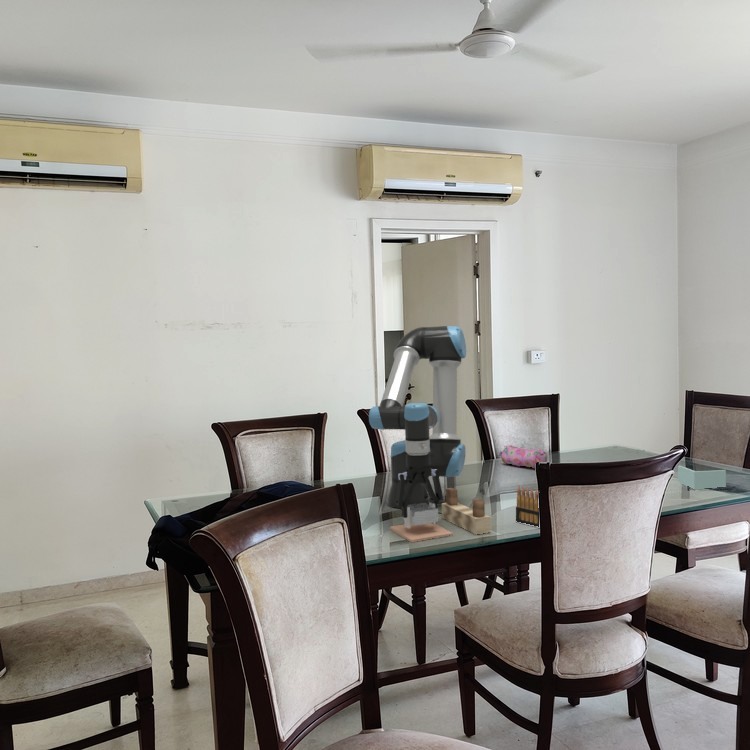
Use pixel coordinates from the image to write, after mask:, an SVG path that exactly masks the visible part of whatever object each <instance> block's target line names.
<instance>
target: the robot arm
mask: <svg viewBox="0 0 750 750" xmlns="http://www.w3.org/2000/svg"><path fill="white" fill-rule="evenodd" d="M466 343H467V342H466V339H465V334H464V331H463V330H462V328H461V327H459V326H456V325H454V326H451V325H445V326H444V325H443V326H441V325H440V326H426V327H425V326H421V327H417V328H414V329H411V330H410V331H409V332H407V333H406V334H404V336H403V337H402V338H401V339H400V340H399V341H398V343H397V345H395V348H394V352H393V355H392V356H393V359H394V361H393V364H392V366H391V371H390V373H389V376H388V380H387V382H386V385H385V389H384V392H383V395H382V397H381V401H380V403H379V405H377V406H372V407H371V408H370V410H369V412H368V422H369V425H370V427H371V428H372V429H374V430H383V431H384V430H404V433H405V435H404V436H405V437H404V438H405V439H404V440H399V441H396V442H393V443H392V445H391V446H390V456H389V457H390V467H391V468H390V469H391V472H390V473H391V485H390V489H389V493H388V495H387V505H388V506H389V505H390V506H389V507H391V506H392V507H391V508H394V507H396V508H395V509H401V517H404V519H403V520H404V524H405V527H406V528H408V529H410V528H411V525H410V507H408V505H412V504H419V503H426V504H429V505H431V506H433V507H435V508H437V509H438V510H439V507H438V505H439V504H440V501H443V500H444V496H443V491H442V485H441V480H440V477H441V478H442V477H443V478H451V477H459V476H460V475H461V474H462V472H463V469H464V466H465V461H466V445H465V444H463V443H462V442H461V437H460V436H459V435H457V422H458V421H457V419H458V418H457V417H458V416H457V414H458V413H457V412H458V411H457V410H458V409H457V407H458V406H457V403H458V402H457V401H458V400H457V398H458V396H457V395H458V394H457V393H458V378H457V377H458V369H459V366H461V364H462V359H465V358H466V357H467V345H466ZM425 359H426V360H428V361H429V362H428V364H429V365H430V366H431V367H432V369H433V372H432V375H433V376H432V377H433V378H432V405H429V404H427V403H426V402H425V403H424V402H412V403H406V404H405V405H404V402H405V399H406V397H407V393H408V389H409V386H410V382H411V380H412V376H413V373H414V370H415V367H416V366H417V365H418V364H419V362H420V360H425ZM430 429H432V432H431V435H430ZM429 477H431V478H432V484H433V487H432V484H431V480H430V478H429ZM433 488H434V489H433ZM431 524H433V525H437V522H433V523H431Z"/></svg>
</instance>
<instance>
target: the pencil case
mask: <svg viewBox="0 0 750 750" xmlns="http://www.w3.org/2000/svg"><path fill="white" fill-rule="evenodd" d="M499 456H500V458H501V461H502V463H503V464H505V463H507V464H506V465H509V464H512V465H511V466H514V465H517V466H516V467H520V466H526V467H525V468H530V467H532V469H535V464H536V463H537V462H548V454H547V453H546V452H545V451H544V450H542V449H540V448H537V449H528V448H527V449H526V448H522V447H521V448H520V447H518V446H513V445H504V449H503V450H502V451H499Z"/></svg>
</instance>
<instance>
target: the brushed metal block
mask: <svg viewBox="0 0 750 750" xmlns="http://www.w3.org/2000/svg"><path fill="white" fill-rule="evenodd" d="M408 507H410V523H412V524H414V525H420V524H427V523H433V522H436V523H438V522H439V508H438V509H437V508H435V507H433V506H431V505H429V504H426V503H419V504H412V505H408ZM401 517H402V516H401ZM402 519H403V520H404V517H402Z"/></svg>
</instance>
